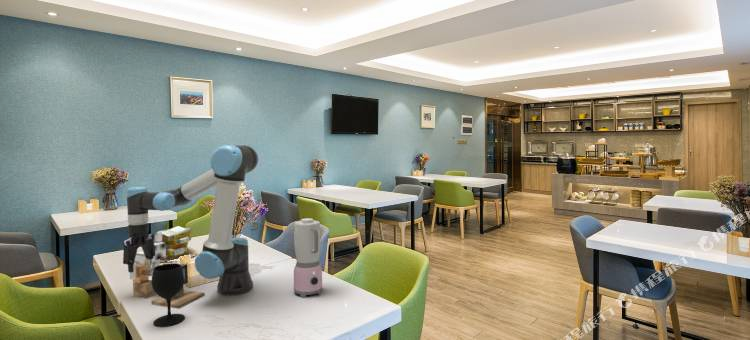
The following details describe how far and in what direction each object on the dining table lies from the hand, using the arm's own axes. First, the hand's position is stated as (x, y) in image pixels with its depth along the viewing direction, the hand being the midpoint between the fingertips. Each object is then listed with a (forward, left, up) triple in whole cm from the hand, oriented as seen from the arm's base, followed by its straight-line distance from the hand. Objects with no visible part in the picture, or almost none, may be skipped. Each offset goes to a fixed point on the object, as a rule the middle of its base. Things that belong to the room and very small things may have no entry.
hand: (140, 276), depth 170 cm
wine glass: (-32, +17, -8) cm, 37 cm away
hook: (-8, 0, -2) cm, 8 cm away
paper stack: (+33, -52, -8) cm, 62 cm away
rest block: (-2, 0, -8) cm, 8 cm away
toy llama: (+24, -26, -8) cm, 36 cm away
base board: (-20, 0, -8) cm, 22 cm away
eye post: (-20, 0, -7) cm, 21 cm away
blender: (-69, -22, -8) cm, 73 cm away
